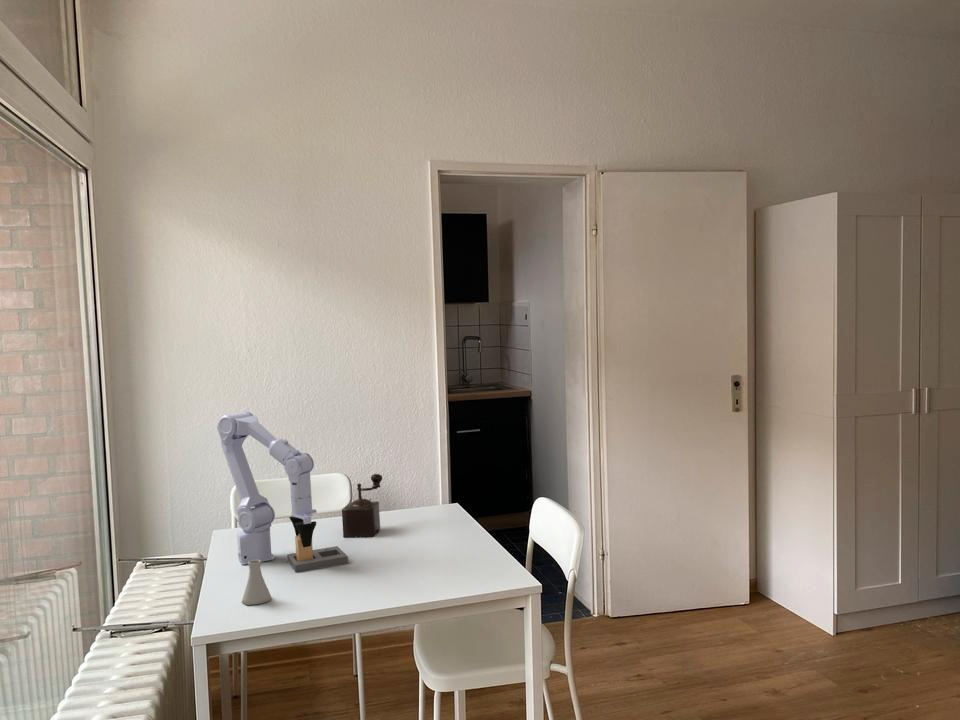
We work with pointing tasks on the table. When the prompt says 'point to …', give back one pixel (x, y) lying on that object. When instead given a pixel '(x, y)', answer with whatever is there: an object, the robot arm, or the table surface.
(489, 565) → the table surface
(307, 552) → the plug
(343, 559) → the socket block
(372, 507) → the manual coffee grinder
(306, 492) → the robot arm
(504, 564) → the table surface
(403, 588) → the table surface
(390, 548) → the table surface
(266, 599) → the flask
